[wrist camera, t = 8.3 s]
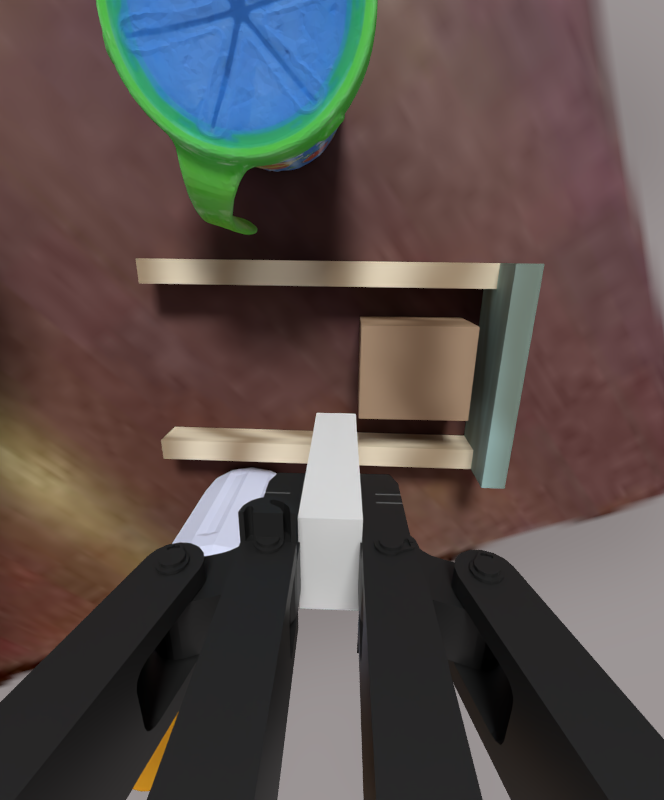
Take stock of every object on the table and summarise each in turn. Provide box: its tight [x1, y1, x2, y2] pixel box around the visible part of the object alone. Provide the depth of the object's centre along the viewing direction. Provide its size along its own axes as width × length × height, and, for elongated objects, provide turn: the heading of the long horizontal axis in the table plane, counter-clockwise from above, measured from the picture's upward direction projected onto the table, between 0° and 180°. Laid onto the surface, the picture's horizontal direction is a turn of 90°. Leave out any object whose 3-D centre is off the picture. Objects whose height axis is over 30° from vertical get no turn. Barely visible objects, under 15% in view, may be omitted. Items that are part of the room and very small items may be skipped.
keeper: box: [358, 316, 480, 421], centre depth 27 cm, size 7×6×4 cm
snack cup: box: [96, 0, 377, 235], centre depth 19 cm, size 16×10×10 cm
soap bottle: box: [133, 467, 277, 791], centre depth 22 cm, size 9×9×25 cm
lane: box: [136, 258, 544, 489], centre depth 27 cm, size 24×14×5 cm, turn 89°
